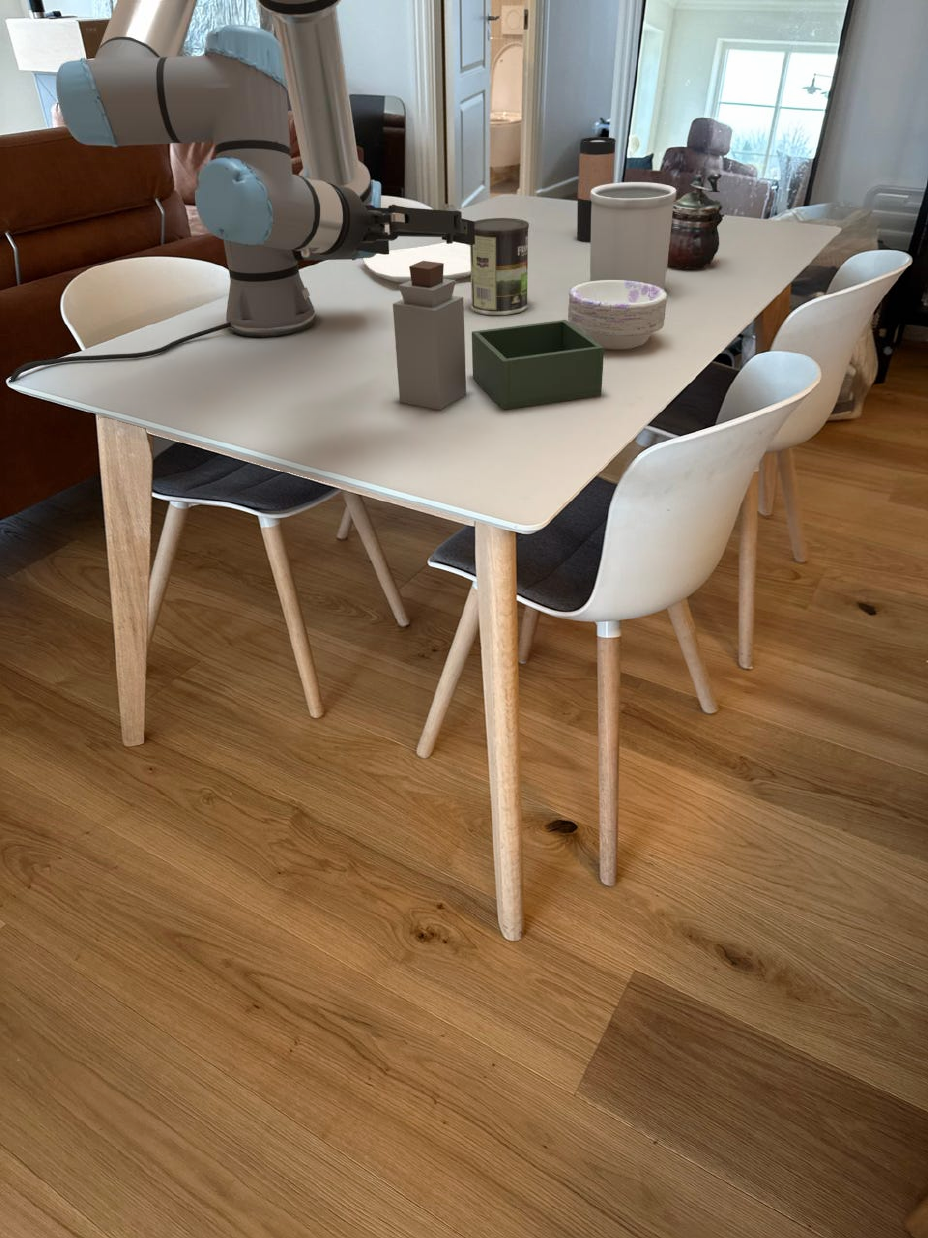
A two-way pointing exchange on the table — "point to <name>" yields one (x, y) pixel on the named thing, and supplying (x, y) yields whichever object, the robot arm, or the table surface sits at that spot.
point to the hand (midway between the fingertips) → (428, 238)
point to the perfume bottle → (430, 339)
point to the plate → (400, 260)
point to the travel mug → (592, 177)
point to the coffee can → (499, 266)
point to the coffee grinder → (695, 227)
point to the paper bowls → (617, 311)
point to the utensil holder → (631, 232)
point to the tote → (537, 364)
